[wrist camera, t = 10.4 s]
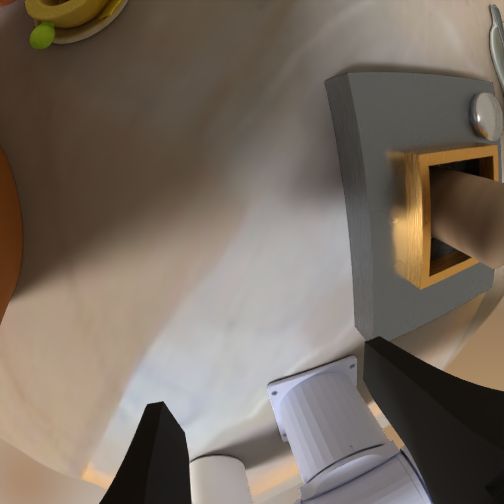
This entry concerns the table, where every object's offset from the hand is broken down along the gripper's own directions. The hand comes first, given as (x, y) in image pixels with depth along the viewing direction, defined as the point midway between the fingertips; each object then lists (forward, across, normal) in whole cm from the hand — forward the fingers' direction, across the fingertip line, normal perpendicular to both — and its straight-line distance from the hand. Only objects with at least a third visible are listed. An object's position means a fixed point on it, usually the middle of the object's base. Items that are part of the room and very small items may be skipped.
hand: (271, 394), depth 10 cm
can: (+10, +8, +23) cm, 26 cm away
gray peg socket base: (+10, -15, -1) cm, 18 cm away
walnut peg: (+10, -15, -1) cm, 19 cm away
